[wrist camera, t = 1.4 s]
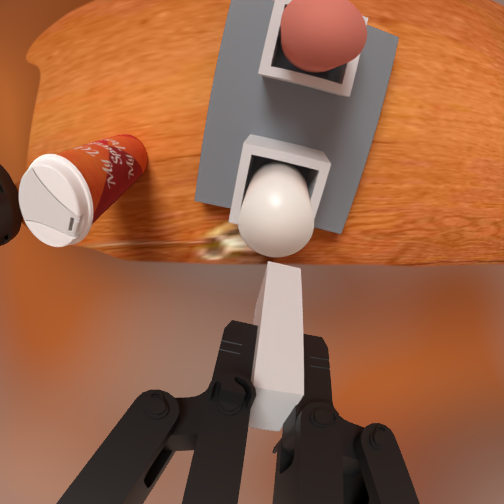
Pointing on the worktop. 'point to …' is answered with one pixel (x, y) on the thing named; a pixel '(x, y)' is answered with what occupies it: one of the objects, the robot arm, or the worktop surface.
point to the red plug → (322, 34)
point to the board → (289, 115)
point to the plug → (276, 211)
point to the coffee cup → (78, 187)
